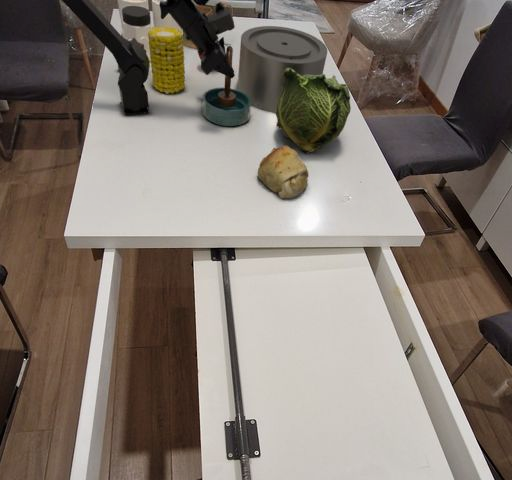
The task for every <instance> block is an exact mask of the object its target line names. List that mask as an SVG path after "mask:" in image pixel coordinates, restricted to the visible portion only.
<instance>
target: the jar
mask: <svg viewBox="0 0 512 480" xmlns="http://www.w3.org/2000/svg"><path fill="white" fill-rule="evenodd" d="M122 16H123V29H124V36H123V38H124V37H125V39H131V40H132V39H133V38H135V39H136V40H137V42H139V43H141V44H144V49H145V50H146V55H147V56H148V58H149V62H151V59H150V49H149V47H150V46H149V35H148V32H149V29H151V28H152V19H151V11H150V10H148V9H146V8H143V7H140V6H127V7H124V8H123V9H122Z"/></svg>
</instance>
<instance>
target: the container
mask: <svg viewBox="0 0 512 480" xmlns="http://www.w3.org/2000/svg"><path fill="white" fill-rule="evenodd" d="M239 45H240V46H239V47H240V48H239V62H238V75H237V88H236V90H238V91H241V92H243V93H245V94H246V95H247V96H248V97H249V98H250V100H251V107H254V108H257V109H259V110H262V111H265V112H270V113H274V114H276V110H277V108H276V105H277V103H278V100H279V96H280V94H281V92H282V89H283V87H284V85H283V84H284V83H285V82H286V77H285V76H283V74H284V71H285V69H287V68H291V69H293V70H294V71H295V72H297V74H299V75H301V76H303V75H305V74H307V75H321V74H324V69H325V65H326V59H327V55H328V47H327V45H326V44H325V43H324V42H323V41H321V39H319V38H317V37H316V36H315V35H312V34H310V33H308V32H305V31H302V30H299V29H296V28H290V27H286V26H277V25H276V26H275V25H263V26H261V25H260V26H255V27H251V28H248V29H247V30H245V31H244V32H243V33H242V34H241V35H240V44H239ZM306 78H307V77H306ZM312 78H314V77H312Z"/></svg>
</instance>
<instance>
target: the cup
mask: <svg viewBox="0 0 512 480" xmlns="http://www.w3.org/2000/svg"><path fill="white" fill-rule="evenodd" d="M161 1H166V0H161ZM159 4H160V0H151V9H152V11H151V12H152V20H153V27H154V28H156V27H158V28H160V27H162V26H163V27H165V28H166V27H170V28H175V29H176V30H179V31H180V32H181V33H182V34H183V30H182V29H181V28H180V26H179V25H178V24H177V23H176V21H175V20H174V19H173V18H172V16H171V15H170V14H169V13H168V15H167V16H166V17H165V18H164V19H161V10H160V6H159Z"/></svg>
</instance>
